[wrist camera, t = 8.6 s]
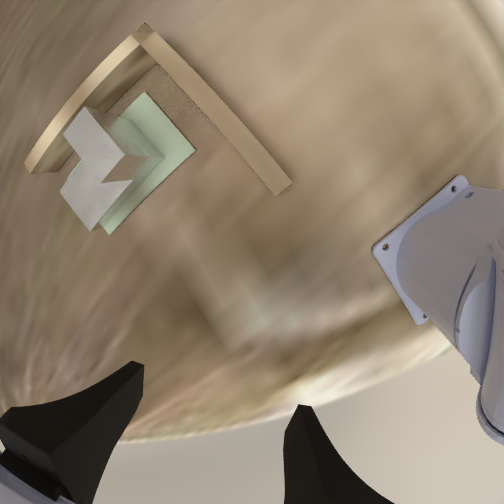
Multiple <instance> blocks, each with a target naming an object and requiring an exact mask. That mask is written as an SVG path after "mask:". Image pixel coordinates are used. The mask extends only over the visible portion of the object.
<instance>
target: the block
mask: <svg viewBox="0 0 504 504" xmlns="http://www.w3.org/2000/svg"><path fill="white" fill-rule="evenodd" d="M63 135H64V136H65V138H66V139H67V140H68V142H69V143H70V145H71V146H72V147H73V148H74V150H75V151H76V152H77V154H78V155H79V156H80V158H81V159H82V161H81V162H80V163H79V165H78V166H77V167H76V169H75V170H74V171H73V173H72V174H71V176H70V177H69V178H68V180H67V181H66V183H65V184H64V186H63V187H62V189H61V190H60V193H61V194H62V195H63V197H64V198H65V200H66V201H67V202H68V204H69V205H70V206H71V208H72V209H73V210H74V212H75V213H76V214H77V216H78V217H79V218H80V219H81V221H82V222H83V223H84V225H85V226H86V227H87V228H88V230H89V231H90V232H91V231H93V230H96V229H98V228H101V227H104V226H105V225H106V224H107V222H108V221H109V220H110V219H111V218H112V216H113V215H114V214H115V213H116V212H117V210H118V209H119V208H120V207H121V206H122V205H123V203H124V202H125V201H126V200H127V199H128V198H129V197H130V195H131V194H132V193H133V192H134V191H135V190H136V189H137V188H138V187H139V186H140V184H141V183H142V182H143V181H144V180H145V179H146V178H147V177H148V176H149V175H150V174H151V173H152V172H153V171H154V169H155V168H156V167H157V166H158V165H159V164H160V163H161V162H162V161H163V160H164V159H165V157H164V156H163V155H162V154H161V152H160V151H159V150H158V149H157V148H156V147H155V146H154V145H153V144H152V142H151V141H150V140H149V139H148V138H147V137H146V136H145V135H144V134H143V132H142V131H141V130H140V129H139V128H138V127H137V126H136V125H135V123H134V122H133V121H132V120H130V119H127V118H123V117H120V116H117V115H113V114H110V113H106V112H103V111H99V110H96V109H92V108H89V107H85V106H84V107H83V109H82V110H81V111H80V112H79V114H78V115H77V116H76V117H75V119H74V120H73V121H72V123H71V124H70V125H69V127H68V128H67V129H66V131H65V132H64V133H63Z"/></svg>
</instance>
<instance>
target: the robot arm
mask: <svg viewBox="0 0 504 504" xmlns="http://www.w3.org/2000/svg"><path fill="white" fill-rule="evenodd" d="M452 186H453V187H454V191H453V192H452V191H451V187H452ZM384 244H387V248H386V249H384V250H383V248H382V247H383V245H384ZM372 253H373V255H374V257H375V258H376V260H377V261H378V263H379V264H380V266H381V267H382V269H383V270H384V272H385V274H386V275H387V277H388V278H389V280H390V282H391V283H392V285H393V286H394V288H395V290H396V291H397V293H398V294H399V296H400V298H401V299H402V301H403V303H404V304H405V306H406V308H407V310H408V311H409V313H410V315H411V316H412V318H413V320H414V322H415V323H416V324H417V325H421V324H423V323H424V322H426V321H427V320H428V319H430V320H431V321H432V323H433V324H434V325H435V326H436V327H437V328H438V329H439V330H440V331H441V332H442V334H443V335H444V336H445V337H446V338H447V339H448V340H449V341H450V343H451V344H452V345H453V346H454V347H455V348H456V349H457V351H458V352H459V353H460V354H461V355H462V356H463V357H464V359H465V360H466V361H467V362H468V363H469V364H470V367H471V370H470V373H471V374H472V375H473V377H474V378H475V379H476V380H477V382H478V383H479V384H480V385H481V386H480V389H479V392H478V396H477V401H476V413H477V418H478V420H479V423H480V425H481V427H482V428H483V430H484V431H485V432H486V434H487V435H488V436H489V437H491V438H492V439H493V440H495V441H496V442H498V443H500V444H502V445H504V190H499V189H493V188H486V187H479V186H472V185H469V184H468V182H467V180H466V178H465V177H464V176H463V175H457V176H456V177H455V178H454V179H453V180H452V181H450V182H449V183H448V184H447V185H446V186H445V187H444V188H443V189H441V190H440V191H439V192H438V193H437V194H436V195H435V196H433V197H432V198H431V199H430V200H429V201H428V202H427V203H425V204H424V205H423V206H422V207H421V208H420V209H418V210H417V211H416V212H415V213H414V214H412V215H411V216H410V217H409V218H408V219H406V220H405V221H404V222H403V223H402V224H400V225H399V226H398V227H397V228H395V229H394V230H393V231H392V232H391V233H389V234H388V235H387V236H386V237H384V238H383V239H382V240H381V241H379V242H378V243H377V244H376V245H375V246H374V247H373V249H372ZM424 314H425V316H424V317H423V315H424ZM143 379H144V365H143V364H140V363H137V362H135V361H131V362H129V363H128V364H126V365H125V366H123V367H122V368H120V369H119V370H117V371H116V372H114V373H113V374H111V375H110V376H108V377H106V378H105V379H103V380H102V381H100V382H98V383H96V384H95V385H93V386H91V387H89V388H87V389H85V390H83V391H81V392H79V393H76V394H74V395H71V396H69V397H66V398H63V399H60V400H56V401H53V402H49V403H44V404H39V405H33V406H23V407H11V408H10V409H9V410H7V411H6V412H5V414H4V415H3V416H2V417H1V418H0V439H1V441H2V443H3V445H4V447H5V450H4V452H3V453H2V452H1V451H0V504H92V503H93V499H94V496H95V493H96V490H97V488H98V485H99V482H100V480H101V477H102V474H103V472H104V469H105V467H106V465H107V462H108V460H109V458H110V455H111V453H112V451H113V449H114V447H115V445H116V443H117V442H118V440H119V438H120V437H121V435H122V434H123V432H124V430H125V429H126V427H127V425H128V424H129V422H130V420H131V419H132V417H133V415H134V414H135V412H136V410H137V408H138V405H139V403H140V401H141V398H142V396H143ZM283 457H284V477H285V498H284V504H394V503H392V502H391V501H389V500H388V499H386V498H385V497H383V496H381V495H380V494H378V493H377V492H376V491H375V490H373V489H372V488H371V487H369V486H368V485H367V484H366V483H365V482H364V481H363V480H361V479H360V478H359V477H358V476H357V475H356V474H355V473H354V472H353V471H352V470H351V468H350V467H349V466H348V465H347V464H346V463H345V461H343V459H342V458H341V456H340V455H339V454H338V452H337V451H336V449H335V448H334V446H333V445H332V443H331V441H330V440H329V438H328V436H327V435H326V433H325V431H324V430H323V428H322V426H321V424H320V422H319V420H318V418H317V416H316V414H315V413H314V411H313V409H312V407H311V406H306V405H300V404H298V406H297V408H296V410H295V412H294V414H293V416H292V418H291V420H290V422H289V424H288V427H287V428H286V430H285V435H284V447H283Z"/></svg>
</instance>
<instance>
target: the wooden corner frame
mask: <svg viewBox="0 0 504 504" xmlns="http://www.w3.org/2000/svg"><path fill="white" fill-rule="evenodd" d="M157 62H158V63H159V64H160V65H161V67H162V68H163V69H164V70H165V71H166V72H167V73H168V74H169V75H170V76H171V77H172V78H173V79H174V80H175V81H176V82H177V84H178V85H179V86H180V87H181V88H182V89H183V90H184V91H185V92H186V93H187V94H188V95H189V97H190V98H191V99H192V100H193V101H194V102H195V103H196V104H197V105H198V106H199V108H200V109H201V110H202V111H203V112H204V113H205V114H206V115H207V116H208V118H209V119H210V120H211V121H212V122H213V123H214V124H215V125H216V127H217V128H218V129H219V130H220V131H221V132H222V133H223V135H224V136H225V137H226V138H227V139H228V140H229V142H230V143H231V144H232V145H233V146H234V147H235V149H236V150H237V151H238V152H239V153H240V154H241V156H242V157H243V158H244V159H245V160H246V161H247V163H248V164H249V165H250V166H251V167H252V169H253V170H254V171H255V172H256V173H257V175H258V176H259V177H260V178H261V179H262V181H263V182H264V183H265V184H266V186H267V187H268V188H269V189H270V190H271V192H272V193H273V194H274V195H275V196H277V195H278V194H279V193H280V192H282V191H283V190H284V189H285V188H287V187H288V186H289V185H291V184H292V183H293V182H292V181H291V180H290V179H289V177H288V176H287V175H286V174H285V172H284V171H283V170H282V169H281V168H280V166H279V165H278V164H277V163H276V162H275V160H274V159H273V158H272V157H271V155H270V154H269V153H268V152H267V151H266V150H265V148H264V147H263V146H262V145H261V144H260V142H259V141H258V140H257V139H256V138H255V137H254V135H253V134H252V133H251V132H250V131H249V130H248V129H247V127H246V126H245V125H244V124H243V123H242V122H241V121H240V119H239V118H238V117H237V116H236V115H235V114H234V113H233V112H232V111H231V109H230V108H229V107H228V106H227V105H226V104H225V103H224V102H223V101H222V100H221V98H220V97H219V96H218V95H217V94H216V93H215V92H214V91H213V90H212V89H211V88H210V87H209V86H208V85H207V83H206V82H205V81H204V80H203V79H202V78H201V77H200V76H199V75H198V74H197V73H196V72H195V71H194V70H193V69H192V68H191V67H190V66H189V65H188V64H187V63H186V62H185V61H184V60H183V59H182V58H181V57H180V56H179V55H178V54H177V53H176V52H175V51H174V50H173V49H172V48H171V47H170V46H169V45H168V44H167V43H166V42H165V41H164V40H163V39H162V38H161V37H160V36H159V35H158V34H157V33H156V32H154V31H153V30H152V29H151V28H150V27H149V26H148V25H147V24H146V23H144V24H143V25H141V26H140V27H139V28H138V29H137V30H136V31H134V32H133V33H132V34H131V35H130V36H129V37H128V38H127V39H126V40H124V41H123V42H122V43H121V44H120V45H119V46H118V47H117V48H116V49H115V50H114V51H113V52H112V53H111V54H110V55H109V56H108V57H107V58H106V59H105V60H104V61H103V62H102V63H101V64H100V65H99V66H98V67H97V68H96V69H95V70H94V71H93V72H92V73H91V75H90V76H89V77H88V78H87V79H86V80H85V81H84V82H83V83H82V85H81V86H80V87H79V88H78V89H77V90H76V92H75V93H74V94H73V95H72V96H71V98H70V99H69V100H68V101H67V102H66V104H65V105H64V106H63V107H62V109H61V110H60V111H59V113H58V114H57V115H56V117H55V118H54V119H53V121H52V122H51V123H50V125H49V126H48V127H47V129H46V130H45V132H44V133H43V134H42V136H41V137H40V139H39V140H38V142H37V143H36V145H35V146H34V148H33V149H32V151H31V152H30V154H29V155H28V157H27V159H26V160H25V162H24V164H25V166H26V167H27V169H28V171H29V173H30V174H35V173H46V172H58V171H59V170H60V168H61V167H62V166H63V164H64V163H65V162H66V160H67V159H68V158H69V156H70V155H71V154H72V153H73V151H74V148H73V147H72V146H71V145H70V143H69V142H68V140H67V139H66V138H65V136H64V135H63V133H64V132H65V131H66V129H67V128H68V127H69V125H70V124H71V123H72V121H73V120H74V119H75V117H76V116H77V115H78V114H79V112H80V111H81V110H82V109H83V107H84V106H85V107H89V108H92V109H96V110H99V111H103V112H107V111H108V110H109V109H110V108H111V107H112V106H113V105H114V104H115V103H116V102H117V101H118V100H119V99H120V98H121V97H122V95H123V94H124V93H125V92H126V91H127V90H128V89H129V88H130V87H132V86H133V85H134V84H135V83H136V82H137V81H138V80H139V79H140V78H141V77H142V76H143V75H144V74H145V73H146V72H147V71H148V70H150V69H151V68H152V67H153V66H154V65H155V64H156V63H157ZM120 117H123V118H127V119H130V120H132V121H133V122H134V123H135V125H136V126H137V127H138V128H139V129H140V130H141V131H142V132H143V134H144V135H145V136H146V137H147V138H148V139H149V140H150V141H151V142H152V144H153V145H154V146H155V147H156V148H157V149H158V150H159V151H160V152H161V154H162V155H163V156H164V157H165V159H164V160H163V161H162V162H161V163H160V164H159V165H158V166H157V167H156V168H155V169H154V171H153V172H152V173H151V174H150V175H149V176H148V177H147V178H146V179H145V180H144V181H143V182H142V183H141V184H140V186H139V187H138V188H137V189H136V190H135V191H134V192H133V193H132V194H131V195H130V197H129V198H128V199H127V200H126V201H125V202H124V203H123V205H122V206H121V207H120V208H119V209H118V210H117V212H116V213H115V214H114V215H113V216H112V218H111V219H110V220H109V221H108V222H107V224H106V225H105V226H104V229H105V230H106V231H107V233H108V234H109V235H111V234H112V233H113V232H114V231H115V230H116V229H117V227H118V226H119V225H120V224H121V223H122V222H123V221H124V220H125V219H126V218H127V217H128V216H129V215H130V214H131V213H132V212H133V211H134V210H135V209H136V208H137V207H138V206H139V205H140V204H141V203H142V202H143V201H144V200H145V199H146V198H147V197H148V196H149V195H150V194H151V193H152V192H153V191H154V190H155V189H156V188H157V187H158V186H159V185H160V184H161V183H162V182H163V181H164V180H165V179H166V178H167V177H168V176H169V175H170V174H171V173H172V172H174V171H175V170H176V169H177V168H178V167H179V166H180V165H181V164H182V163H183V162H184V161H186V160H187V159H188V158H189V157H190V156H191V155H192V154H193V153H194V152H196V151H197V150H196V149H195V148H194V147H193V146H192V145H191V143H190V142H189V141H188V140H187V139H186V138H185V136H184V135H183V134H182V133H181V132H180V131H179V129H178V128H177V127H176V126H175V125H174V124H173V122H172V121H171V120H170V119H169V118H168V117H167V116H166V114H165V113H164V112H163V111H162V110H161V109H160V107H159V106H158V105H157V104H156V103H155V102H154V101H153V99H152V98H151V97H150V96H149V95H148V94H147V93H146V92H145V91H144V92H143V93H142V94H141V95H140V96H139V97H138V98H137V99H136V100H135V101H134V102H133V103H132V104H131V105H130V106H129V107H128V108H127V109H126V110H125V111H124V112H123V113H122V114H121V115H120ZM81 161H82V160H81ZM81 161H80V162H81ZM80 162H79V163H80ZM79 163H78V165H79ZM78 165H77V166H78ZM77 166H76V167H77ZM76 167H75V168H74V170H75V169H76ZM74 170H73V171H74ZM73 171H72V172H71V174H72V173H73ZM71 174H70V175H69V176H68V178H69V177H70V176H71Z"/></svg>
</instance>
